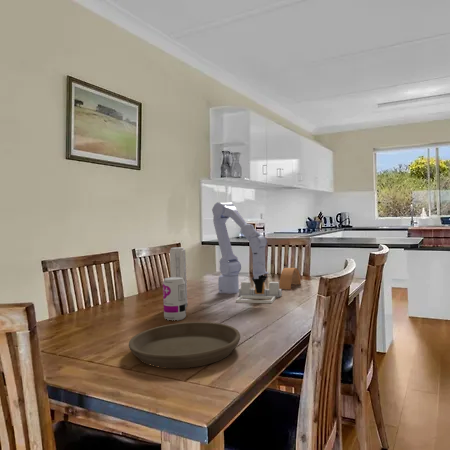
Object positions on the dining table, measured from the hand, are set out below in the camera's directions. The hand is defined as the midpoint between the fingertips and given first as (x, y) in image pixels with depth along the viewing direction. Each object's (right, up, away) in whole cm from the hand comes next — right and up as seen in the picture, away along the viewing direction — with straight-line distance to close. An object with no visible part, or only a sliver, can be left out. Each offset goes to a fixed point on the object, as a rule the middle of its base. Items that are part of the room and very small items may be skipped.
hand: (260, 292), depth 183 cm
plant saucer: (-27, -5, -70) cm, 75 cm away
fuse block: (0, -2, 0) cm, 2 cm away
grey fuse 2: (+6, -1, -2) cm, 7 cm away
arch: (+17, -2, +22) cm, 28 cm away
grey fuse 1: (-6, -2, +2) cm, 7 cm away
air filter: (-35, -4, -14) cm, 38 cm away
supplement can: (-35, -5, -33) cm, 48 cm away
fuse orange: (0, -1, 0) cm, 1 cm away
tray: (-3, -3, -11) cm, 11 cm away
